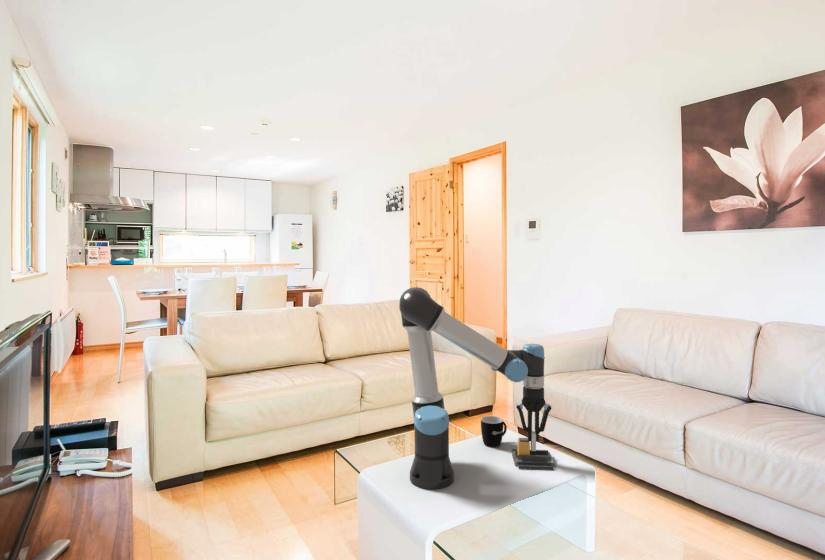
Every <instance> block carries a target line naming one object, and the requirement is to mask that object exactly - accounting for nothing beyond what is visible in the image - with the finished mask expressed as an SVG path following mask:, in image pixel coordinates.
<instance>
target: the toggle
mask: <svg viewBox="0 0 825 560" xmlns="http://www.w3.org/2000/svg"><path fill="white" fill-rule="evenodd" d="M517 449H518V455H530V450H531V441H529V440H528V437H518V438H517Z"/></svg>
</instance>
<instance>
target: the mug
mask: <svg viewBox="0 0 825 560" xmlns="http://www.w3.org/2000/svg"><path fill="white" fill-rule="evenodd" d="M480 428H481V429H480V430H481V431H480V432H481V438H482V442H483V445H484V446H486V447H488V448H497V447H499V446H500V445H501V443H502V440H503V437H504V436H505V434H506V433H507V424H506V423H505V422H504V419H503V417H500V416H495V415H487V416H483V417H481V418H480Z"/></svg>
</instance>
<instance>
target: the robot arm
mask: <svg viewBox="0 0 825 560" xmlns="http://www.w3.org/2000/svg"><path fill="white" fill-rule="evenodd" d="M398 304H399V306H398V307H399V311H400V315H401V324H402V327H403V328H404V329H405V330H406V331H407V340H408V346H409V355H410V363H411V371H412V379H413V380H412V381H413V388H414V395H413V397H412V398H411V405H412V412H413V413H412V415H413V423H414V424H413V425H414V427H413V428H414V429H413V430H414V432H413V433H414V458H413V461H412V463H411V464H412V465H411V467H410V470H409V481H410V482H411V483H412V484H413V485H414V486H416V487H419V488H422V489H426V490H436V489H443V488H447V487H449V486H450V485H452V484H453V483H454V481H455V472H454V471H455V470H454V468H453V465H452V461H451V458H450V451H449V450H450V441H449V440H450V437H449V436H450V433H449V430H450V428H449V425H450V419H449V412H448V411H447V410H446V409H445V403H444V402H445V401H444V395H443V394H442V393H440V392H439V388H438V387H439V385H438V378H437V377H438V376H437V368H436V364H435V363H436V361H435V354H434V353H435V352H434V345H433V337H432V332H434V333H436V334H438V335H440V336H441V337H443V338H444V339H446V340H447V341H449V343H450V342H451V343H452V344H453V345H456V346H457V347H459V348H460V349H462V350H463V351H465V352H467V353H468V354H470V355H472V356H473V357H474V358H476V359H478V360H480V361H482V362H483V363H484V364H486V365H488V366H489V367H490V369H491V371H494V372H499V373H501V375H504V376H505V377H506V378H507V379H508V380H509V381H511V382H514V383H521V382H522V385H523V386H522V399H521V402H519V403H516V404H515V407H516V409H517V411H518V413H519V418H520V423H521V425H522V429H523V431H524V432H527V438H528V440H529V442H530V450H532V451H536V450H537V443H539V440H540V433H542V432H543V433H544V432H545V430H546V429H545V428H546V424H547V420H548V416H549V413H550V411H552V408H553V407H552V406H551V405H550V404H549V403H547V402H546V399H545V388H544V387H545V359H546V357H545V348H544V345H542V344H539V343H525V344H524V345H523V347H522V349H505V348H503V347H502V346H501V345H498V343H495V342H494V341H492V340H491V339H489V338H487V337H486V336H485V335H483V334H481V333H479V332H478V331H476V330H475V329H473V328H471V327H470V326H469V325H467V324H465V323H463V322H462V321H460V320H459V319H458V318H455V317H454V316H453V315H451V314H449V313H447V312H446V309H445V307H444V306H443V305H440V304H439V303H437V302H436V300H434V299H433V298H432V297H431V295H430V293H429V292H428V291H427V290H426V289H424V288H422V287H419V286H418V287H409V288H408V289H405V291H404V292H403V293H402V294H401V295H400V298H399V303H398ZM523 407H524V408H525V410H526V411H527V423H526V421H525V416H524V413H523ZM542 409H544V410H543V414H542V417H541V420H540V412H541V411H542ZM533 413H534V430H533Z"/></svg>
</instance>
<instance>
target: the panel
mask: <svg viewBox="0 0 825 560" xmlns="http://www.w3.org/2000/svg"><path fill="white" fill-rule="evenodd" d="M514 449H515V451H511V456H512V459H513V462H514V463H513V464H514V466H515V467H519V465H535V466H553V467H554V468H556V462H555V460H554V458H553V456H552V454H551V453H550V451H549V450H548V449H536V451H532V450H531V449H530V455H518V448H514Z"/></svg>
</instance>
